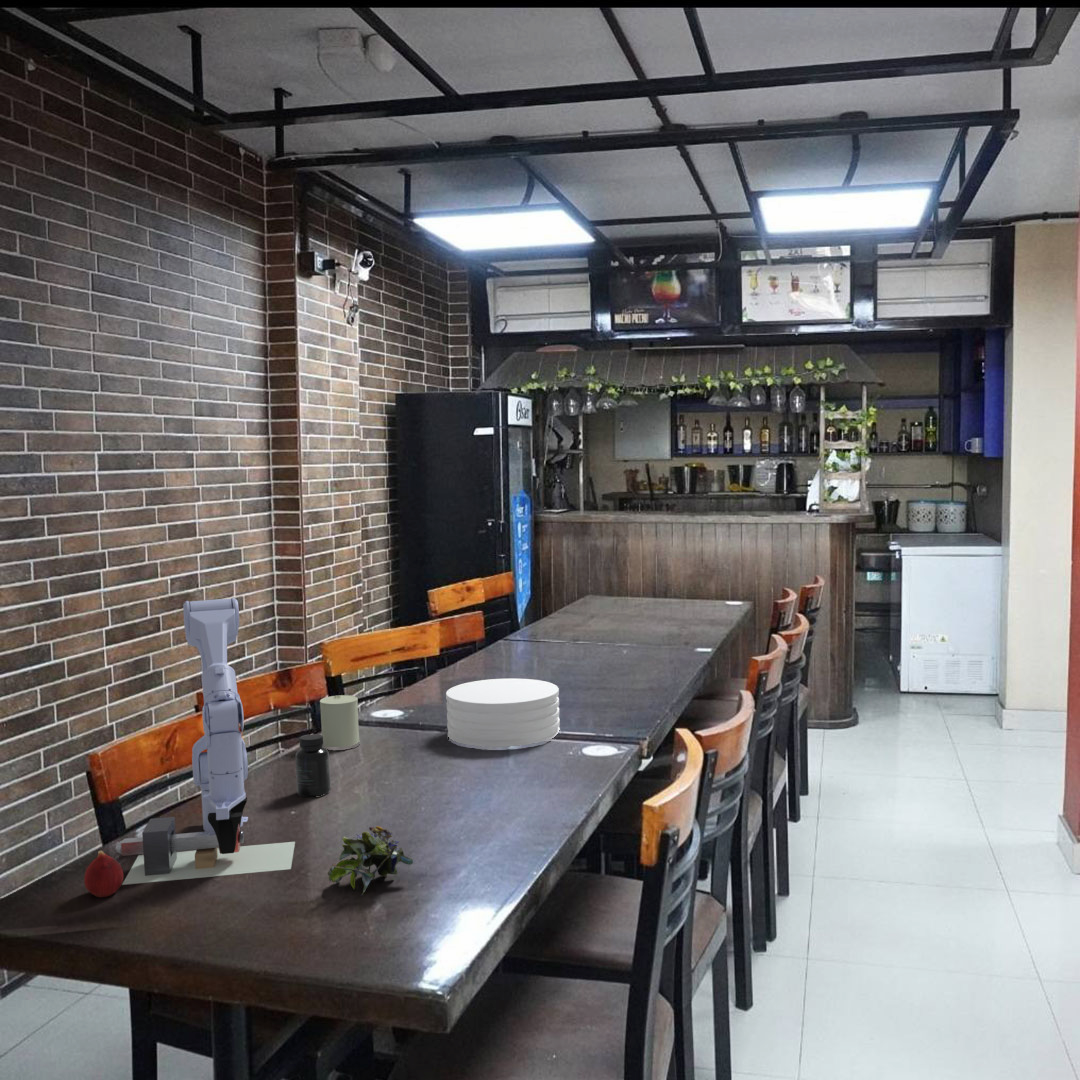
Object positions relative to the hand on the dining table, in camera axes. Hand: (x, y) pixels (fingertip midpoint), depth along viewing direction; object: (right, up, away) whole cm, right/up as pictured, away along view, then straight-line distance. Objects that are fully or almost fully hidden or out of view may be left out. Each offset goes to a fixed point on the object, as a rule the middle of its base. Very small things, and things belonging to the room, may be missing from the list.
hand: (230, 846), depth 182 cm
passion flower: (+26, -4, -10) cm, 28 cm away
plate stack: (+45, +4, +81) cm, 93 cm away
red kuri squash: (-17, -5, -12) cm, 21 cm away
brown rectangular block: (-4, -3, -1) cm, 5 cm away
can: (+5, +2, +75) cm, 76 cm away
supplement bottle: (+6, 0, +39) cm, 40 cm away
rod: (-8, -1, -1) cm, 8 cm away
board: (-3, -4, 0) cm, 5 cm away
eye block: (-11, -3, -2) cm, 12 cm away
